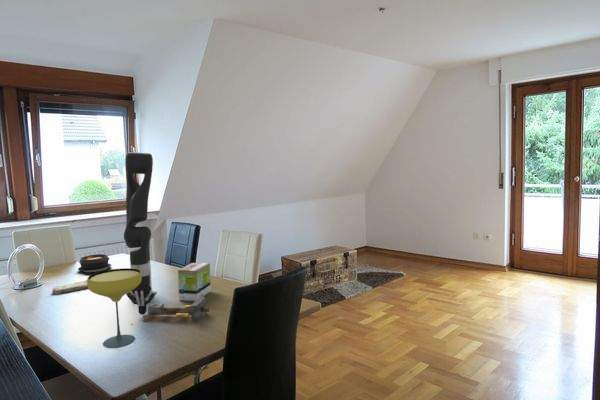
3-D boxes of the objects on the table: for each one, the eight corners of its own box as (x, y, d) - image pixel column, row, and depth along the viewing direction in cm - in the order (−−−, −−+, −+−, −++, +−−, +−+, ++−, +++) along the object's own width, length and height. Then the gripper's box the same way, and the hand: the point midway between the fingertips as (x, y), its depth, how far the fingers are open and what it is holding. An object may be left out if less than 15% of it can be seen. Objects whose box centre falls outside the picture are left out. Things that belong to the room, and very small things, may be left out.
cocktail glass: (90, 356, 143) (84, 284, 140) (93, 336, 159) (88, 272, 157) (147, 346, 150) (142, 277, 147) (144, 328, 166) (140, 265, 164)
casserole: (77, 268, 266) (76, 255, 265) (109, 263, 276) (108, 251, 275) (79, 277, 245) (78, 263, 244) (114, 272, 254) (113, 258, 253)
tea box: (198, 301, 197) (196, 270, 195) (178, 300, 199) (176, 269, 197) (211, 291, 211) (210, 262, 210) (192, 290, 213) (191, 262, 212)
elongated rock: (50, 295, 217) (55, 300, 211) (48, 285, 217) (54, 290, 210) (118, 276, 242) (125, 281, 235) (117, 268, 241) (124, 272, 234)
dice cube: (152, 314, 181) (152, 303, 181) (164, 314, 181) (163, 303, 180) (148, 319, 176) (147, 307, 176) (160, 319, 176) (159, 307, 175)
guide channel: (143, 321, 173) (142, 305, 172) (155, 312, 184) (154, 296, 183) (204, 322, 170) (203, 306, 169) (213, 312, 181) (212, 297, 180)
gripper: (120, 276, 174) (123, 317, 175) (151, 276, 172) (153, 317, 174) (129, 271, 181) (132, 310, 183) (159, 271, 180) (161, 311, 181)
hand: (142, 313), depth 178 cm, fingers closed
